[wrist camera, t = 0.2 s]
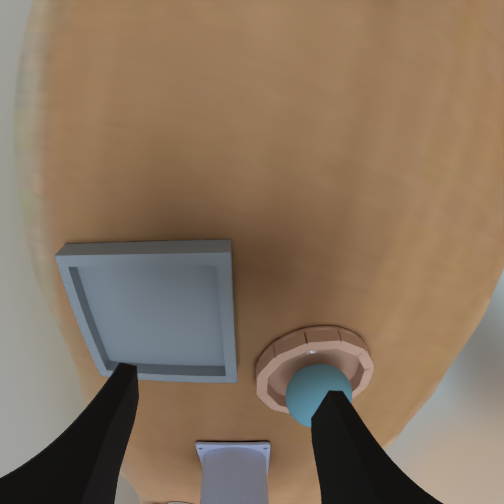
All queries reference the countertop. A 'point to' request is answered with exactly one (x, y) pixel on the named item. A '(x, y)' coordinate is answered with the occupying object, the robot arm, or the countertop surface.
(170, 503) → the mug
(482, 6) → the countertop surface
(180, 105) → the countertop surface
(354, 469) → the robot arm
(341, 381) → the ball
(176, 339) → the tray
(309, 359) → the dish
